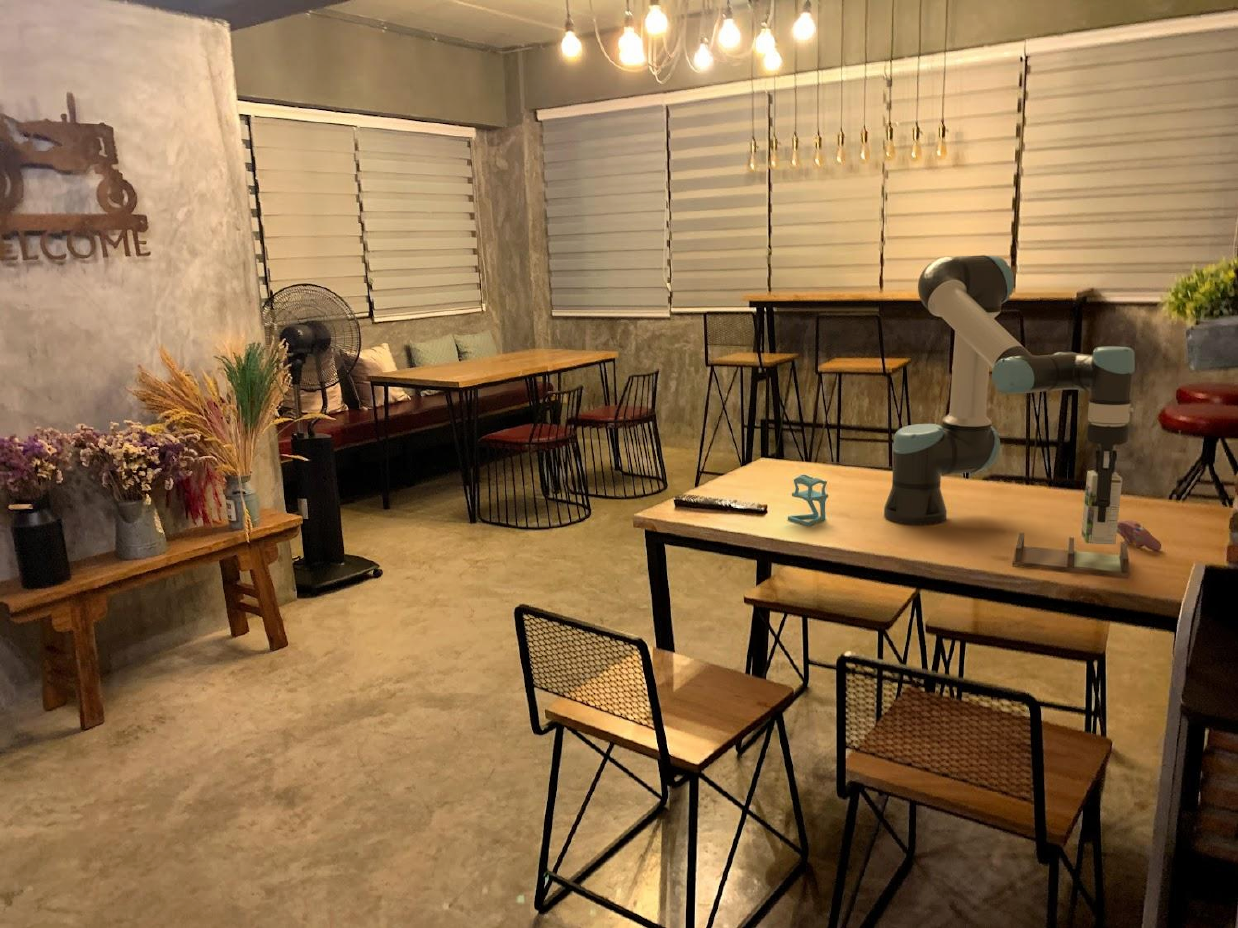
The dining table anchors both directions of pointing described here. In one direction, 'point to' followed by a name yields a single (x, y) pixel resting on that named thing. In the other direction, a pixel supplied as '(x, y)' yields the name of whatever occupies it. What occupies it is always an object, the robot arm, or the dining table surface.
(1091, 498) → the syrup box
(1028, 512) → the dining table surface
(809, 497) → the chair
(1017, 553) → the slot rack
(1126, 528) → the video game controller
